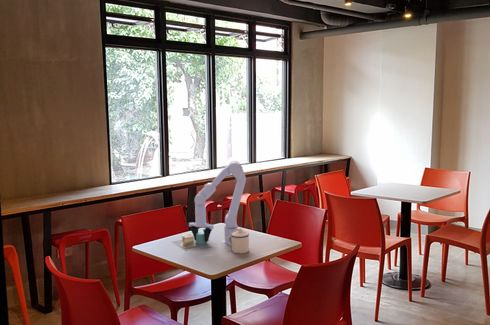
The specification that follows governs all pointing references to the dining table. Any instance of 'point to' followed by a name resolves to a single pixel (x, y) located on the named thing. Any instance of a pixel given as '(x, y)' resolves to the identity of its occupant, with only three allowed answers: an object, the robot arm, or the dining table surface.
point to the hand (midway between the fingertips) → (201, 240)
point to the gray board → (195, 246)
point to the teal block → (200, 238)
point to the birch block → (187, 240)
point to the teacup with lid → (239, 241)
